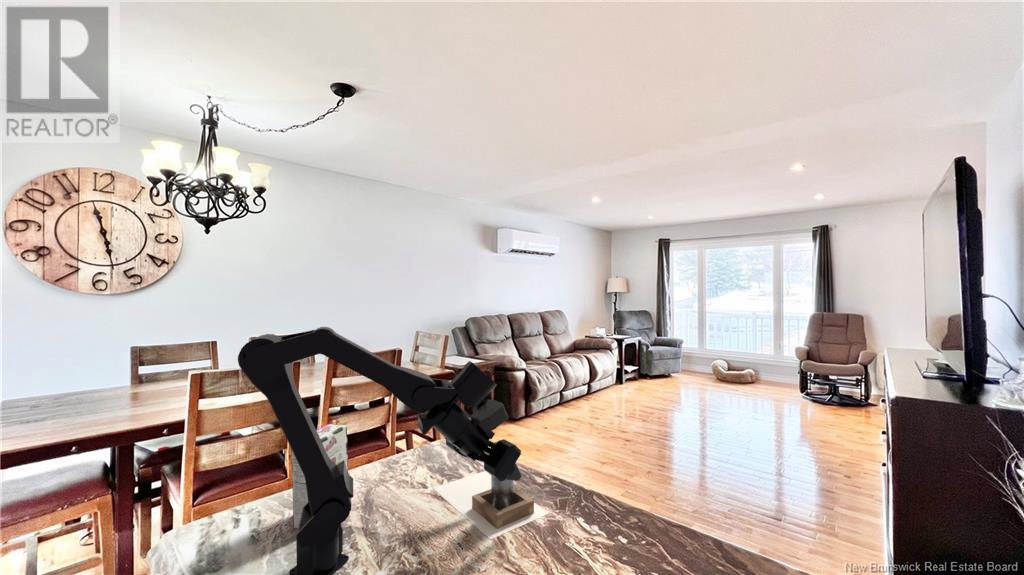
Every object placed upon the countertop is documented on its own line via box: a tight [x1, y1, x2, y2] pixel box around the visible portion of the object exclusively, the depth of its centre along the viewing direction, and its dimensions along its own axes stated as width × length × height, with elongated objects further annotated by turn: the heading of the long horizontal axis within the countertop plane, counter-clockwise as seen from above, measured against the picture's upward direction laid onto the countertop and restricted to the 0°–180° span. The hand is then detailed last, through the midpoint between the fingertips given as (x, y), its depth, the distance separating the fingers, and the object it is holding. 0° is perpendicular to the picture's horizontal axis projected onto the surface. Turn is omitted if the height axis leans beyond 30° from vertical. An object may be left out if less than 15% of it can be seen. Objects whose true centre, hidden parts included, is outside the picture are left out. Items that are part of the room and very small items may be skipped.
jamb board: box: [432, 470, 550, 540], centre depth 86 cm, size 23×14×1 cm, turn 37°
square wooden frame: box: [472, 486, 535, 529], centre depth 82 cm, size 9×9×2 cm
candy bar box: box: [290, 423, 349, 530], centre depth 83 cm, size 11×5×16 cm, turn 168°
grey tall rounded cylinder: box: [490, 441, 514, 510], centre depth 82 cm, size 4×4×13 cm
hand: (505, 469), depth 82 cm, fingers open, 9 cm apart
